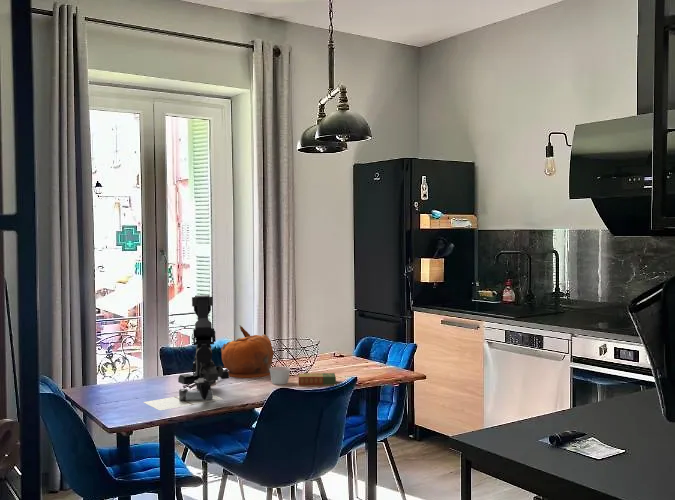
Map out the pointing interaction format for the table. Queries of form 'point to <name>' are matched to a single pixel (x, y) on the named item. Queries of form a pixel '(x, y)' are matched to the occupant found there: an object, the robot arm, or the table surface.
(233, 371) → the pumpkin
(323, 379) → the carton
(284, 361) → the table surface
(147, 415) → the table surface
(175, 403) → the board
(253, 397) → the table surface
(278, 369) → the candle
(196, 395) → the bar
